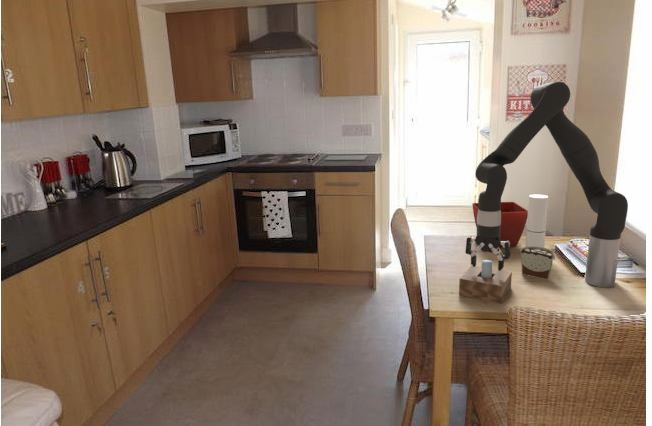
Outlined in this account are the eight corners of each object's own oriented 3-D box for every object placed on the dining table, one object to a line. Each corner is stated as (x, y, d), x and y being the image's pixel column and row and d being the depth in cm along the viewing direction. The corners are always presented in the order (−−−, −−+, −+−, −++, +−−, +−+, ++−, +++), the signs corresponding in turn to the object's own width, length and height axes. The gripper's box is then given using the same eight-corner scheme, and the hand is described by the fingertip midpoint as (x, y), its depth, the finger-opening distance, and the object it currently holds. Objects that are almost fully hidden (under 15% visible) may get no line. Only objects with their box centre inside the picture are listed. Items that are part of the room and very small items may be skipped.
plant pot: (470, 237, 223) (471, 202, 219) (511, 236, 223) (513, 201, 219) (482, 250, 205) (483, 212, 201) (526, 249, 204) (529, 211, 200)
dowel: (492, 287, 165) (493, 260, 162) (489, 291, 162) (490, 263, 159) (482, 286, 166) (483, 259, 164) (479, 289, 164) (480, 262, 161)
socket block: (510, 287, 166) (511, 271, 165) (501, 303, 155) (502, 286, 154) (470, 280, 174) (471, 265, 172) (458, 294, 163) (459, 278, 161)
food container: (558, 276, 175) (560, 250, 173) (552, 281, 171) (554, 254, 168) (524, 268, 183) (526, 244, 181) (518, 273, 179) (519, 248, 177)
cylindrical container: (544, 253, 199) (549, 195, 192) (542, 258, 193) (546, 198, 186) (526, 250, 202) (530, 193, 196) (523, 256, 197) (527, 197, 190)
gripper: (513, 222, 157) (511, 267, 162) (470, 217, 165) (469, 261, 169) (508, 227, 151) (506, 275, 155) (464, 223, 159) (462, 268, 163)
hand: (486, 268), depth 162 cm, fingers open, 8 cm apart
